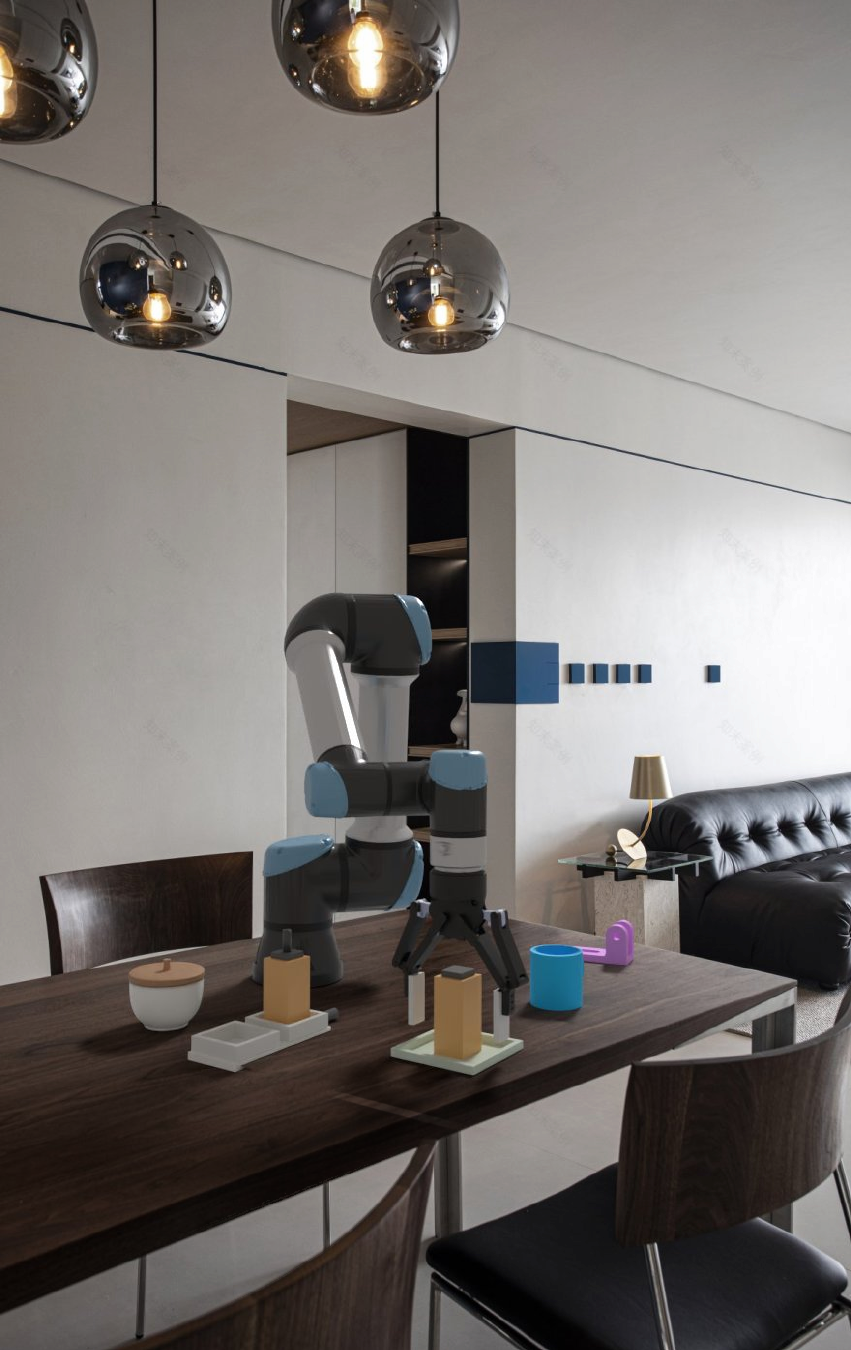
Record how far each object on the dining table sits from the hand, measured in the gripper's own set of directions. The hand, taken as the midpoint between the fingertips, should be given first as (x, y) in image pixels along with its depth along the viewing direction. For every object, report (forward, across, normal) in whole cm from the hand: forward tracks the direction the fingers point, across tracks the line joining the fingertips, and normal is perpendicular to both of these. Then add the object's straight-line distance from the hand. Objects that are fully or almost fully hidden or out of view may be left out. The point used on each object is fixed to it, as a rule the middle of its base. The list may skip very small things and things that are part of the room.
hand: (457, 1031), depth 144 cm
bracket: (+4, -9, +60) cm, 61 cm away
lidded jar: (+3, -42, -12) cm, 44 cm away
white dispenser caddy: (+3, -24, -8) cm, 26 cm away
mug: (+4, -1, +32) cm, 32 cm away
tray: (+3, 0, 0) cm, 3 cm away
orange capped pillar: (+3, 0, 0) cm, 3 cm away
